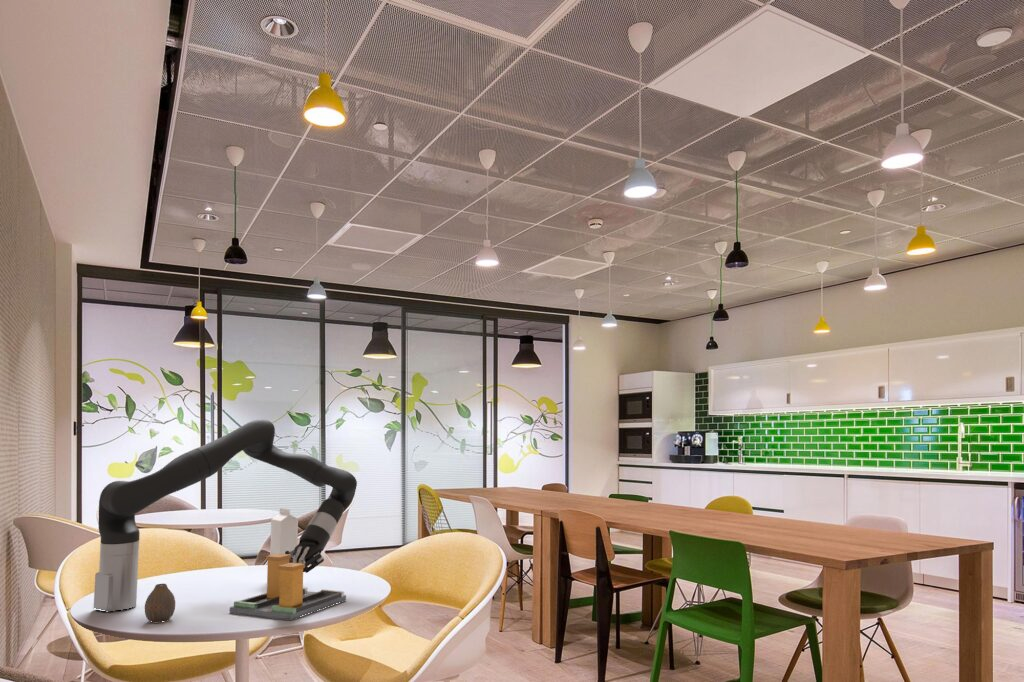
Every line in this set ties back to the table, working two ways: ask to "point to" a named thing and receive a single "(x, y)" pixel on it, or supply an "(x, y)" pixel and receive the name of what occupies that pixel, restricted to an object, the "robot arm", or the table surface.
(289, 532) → the milk
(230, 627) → the table surface
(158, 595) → the vase
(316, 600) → the twin pillar base
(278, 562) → the orange capped square pillar
